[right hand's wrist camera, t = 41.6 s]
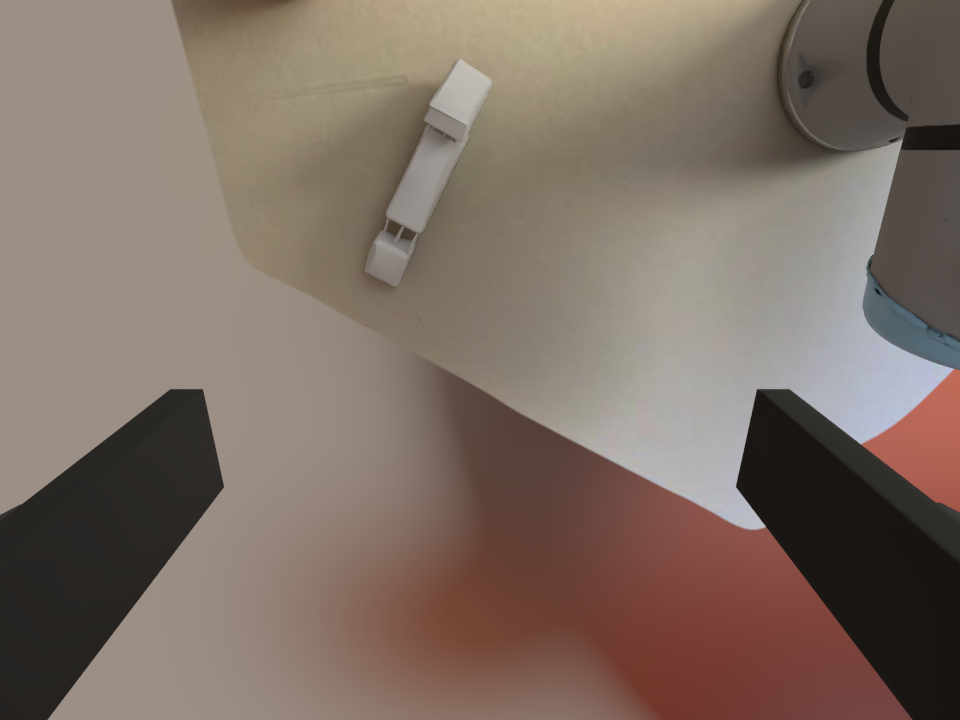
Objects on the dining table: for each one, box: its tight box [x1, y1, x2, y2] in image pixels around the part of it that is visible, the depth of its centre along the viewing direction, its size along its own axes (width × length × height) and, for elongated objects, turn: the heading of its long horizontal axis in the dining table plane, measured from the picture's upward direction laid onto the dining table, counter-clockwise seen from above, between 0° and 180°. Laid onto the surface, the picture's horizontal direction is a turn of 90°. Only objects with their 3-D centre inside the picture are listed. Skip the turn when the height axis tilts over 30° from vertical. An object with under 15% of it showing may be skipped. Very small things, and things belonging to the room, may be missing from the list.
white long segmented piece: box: [364, 59, 492, 287], centre depth 46 cm, size 20×4×7 cm, turn 153°
